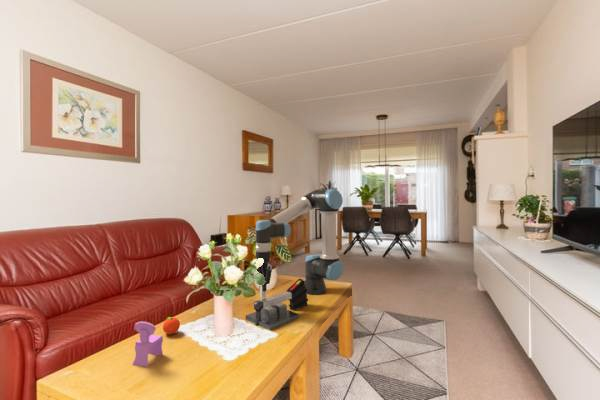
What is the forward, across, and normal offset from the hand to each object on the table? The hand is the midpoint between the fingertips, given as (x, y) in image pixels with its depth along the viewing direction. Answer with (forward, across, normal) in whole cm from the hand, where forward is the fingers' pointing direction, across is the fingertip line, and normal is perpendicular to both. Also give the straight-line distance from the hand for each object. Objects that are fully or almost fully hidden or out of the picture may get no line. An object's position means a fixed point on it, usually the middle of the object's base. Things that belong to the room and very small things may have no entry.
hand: (262, 297), depth 153 cm
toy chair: (+10, +1, -56) cm, 57 cm away
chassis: (+9, +7, 0) cm, 11 cm away
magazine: (+9, +6, +19) cm, 22 cm away
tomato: (+10, -14, -41) cm, 44 cm away
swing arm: (+2, +7, 0) cm, 7 cm away
